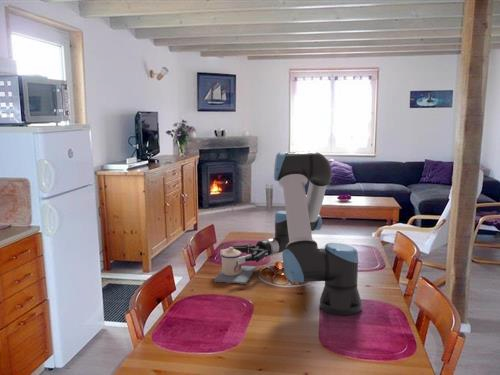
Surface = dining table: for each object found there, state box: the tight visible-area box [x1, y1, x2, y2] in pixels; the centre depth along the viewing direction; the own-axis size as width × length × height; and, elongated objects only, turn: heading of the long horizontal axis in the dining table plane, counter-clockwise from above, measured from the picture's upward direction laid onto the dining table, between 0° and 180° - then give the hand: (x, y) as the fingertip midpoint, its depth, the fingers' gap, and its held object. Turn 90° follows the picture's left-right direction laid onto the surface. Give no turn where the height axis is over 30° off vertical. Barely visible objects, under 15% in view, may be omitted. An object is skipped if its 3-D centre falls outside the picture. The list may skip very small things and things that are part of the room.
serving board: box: [213, 265, 257, 285], centre depth 195 cm, size 20×14×1 cm
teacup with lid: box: [220, 246, 243, 276], centre depth 196 cm, size 12×9×12 cm
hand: (229, 257), depth 192 cm, fingers open, 13 cm apart
